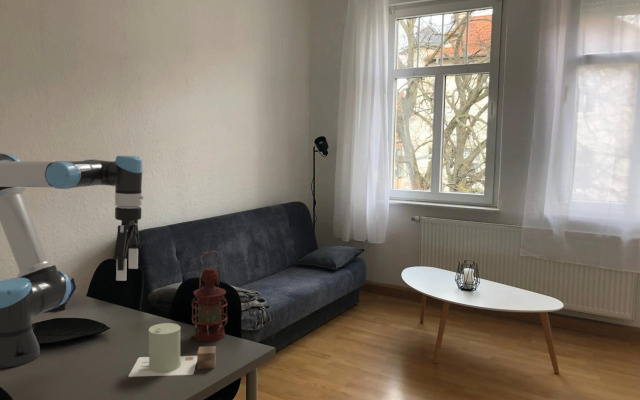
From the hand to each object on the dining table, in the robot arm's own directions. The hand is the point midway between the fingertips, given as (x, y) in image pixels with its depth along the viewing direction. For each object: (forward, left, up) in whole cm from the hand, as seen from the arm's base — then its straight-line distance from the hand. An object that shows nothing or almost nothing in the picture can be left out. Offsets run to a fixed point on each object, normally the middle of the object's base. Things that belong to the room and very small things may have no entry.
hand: (127, 274), depth 155 cm
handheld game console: (-40, +49, -26) cm, 68 cm away
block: (+25, -10, -26) cm, 37 cm away
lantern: (+24, +13, -26) cm, 37 cm away
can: (+13, -10, -26) cm, 30 cm away
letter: (+13, -10, -26) cm, 30 cm away
